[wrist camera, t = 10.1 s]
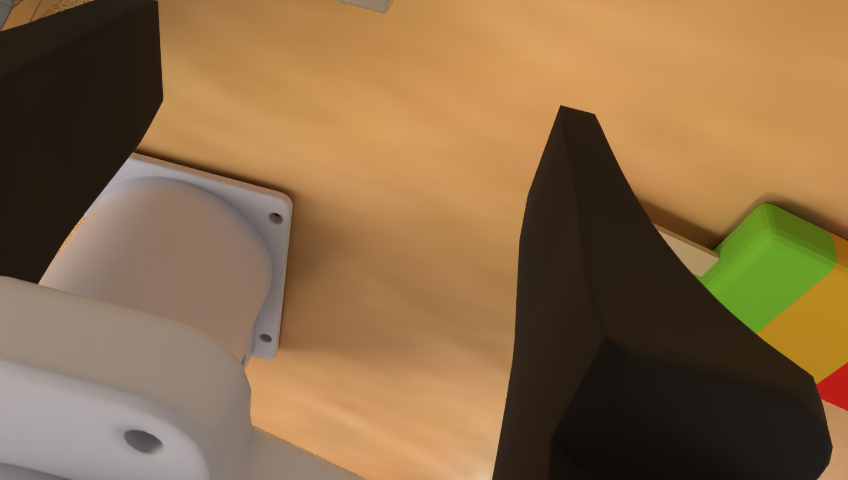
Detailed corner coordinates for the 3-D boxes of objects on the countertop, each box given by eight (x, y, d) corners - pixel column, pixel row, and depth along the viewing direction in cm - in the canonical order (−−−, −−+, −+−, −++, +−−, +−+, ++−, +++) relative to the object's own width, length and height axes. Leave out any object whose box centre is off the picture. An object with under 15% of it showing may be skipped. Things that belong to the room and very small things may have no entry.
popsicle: (870, 391, 30) (883, 432, 28) (519, 232, 27) (514, 268, 26) (998, 307, 26) (1019, 349, 24) (604, 115, 24) (603, 151, 22)
